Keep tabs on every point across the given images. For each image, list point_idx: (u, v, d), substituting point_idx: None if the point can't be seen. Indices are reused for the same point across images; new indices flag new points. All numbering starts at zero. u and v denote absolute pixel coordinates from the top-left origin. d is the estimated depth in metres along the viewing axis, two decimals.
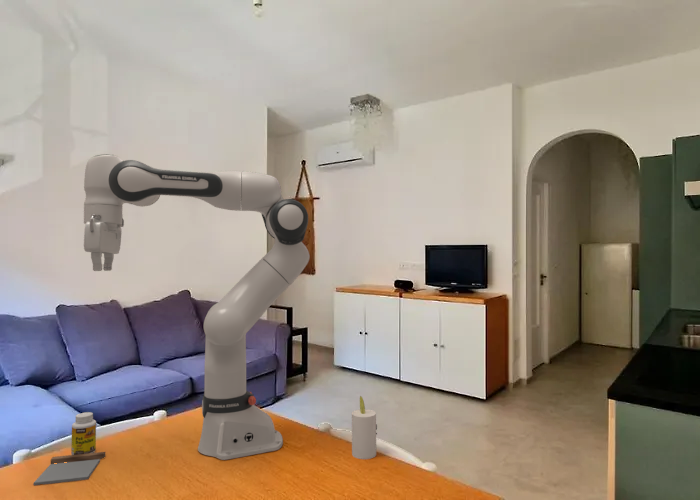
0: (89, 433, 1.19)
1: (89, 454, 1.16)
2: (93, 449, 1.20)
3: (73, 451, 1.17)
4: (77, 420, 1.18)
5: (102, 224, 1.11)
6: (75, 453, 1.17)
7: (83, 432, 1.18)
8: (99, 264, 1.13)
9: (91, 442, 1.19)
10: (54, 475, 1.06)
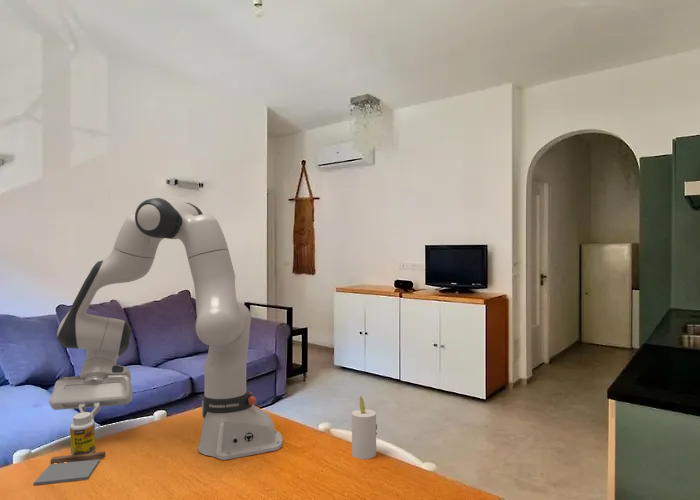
0: (88, 434, 1.18)
1: (89, 454, 1.16)
2: (93, 448, 1.20)
3: (73, 451, 1.17)
4: (75, 421, 1.17)
5: (63, 381, 1.27)
6: (75, 453, 1.17)
7: (82, 433, 1.17)
8: None
9: (90, 442, 1.19)
10: (54, 475, 1.06)
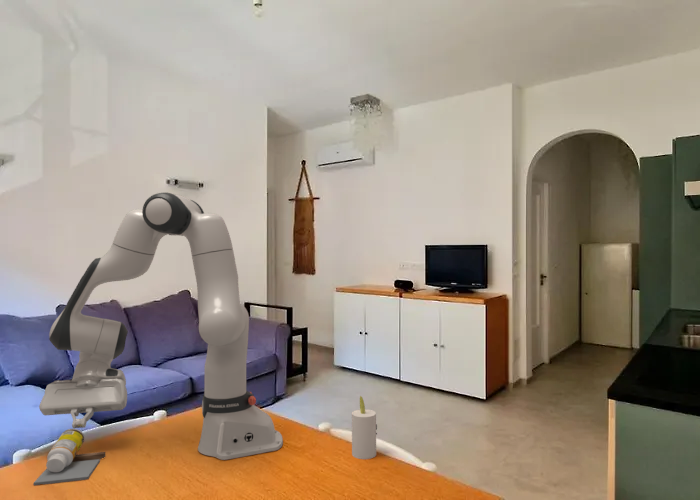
0: (75, 455, 1.12)
1: (89, 454, 1.16)
2: (83, 438, 1.16)
3: None
4: None
5: (54, 385, 1.21)
6: None
7: None
8: (73, 420, 1.17)
9: (80, 446, 1.14)
10: (54, 475, 1.06)
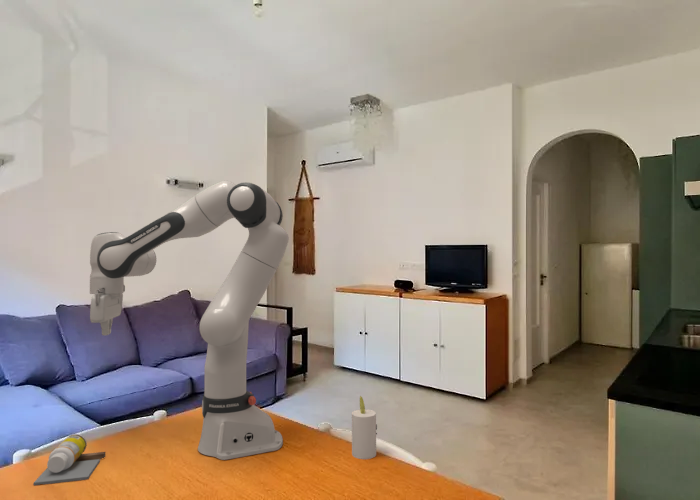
0: (75, 460, 1.11)
1: (89, 454, 1.16)
2: (85, 446, 1.15)
3: None
4: None
5: (106, 297, 1.27)
6: None
7: None
8: (107, 329, 1.33)
9: (80, 454, 1.13)
10: (54, 475, 1.06)
